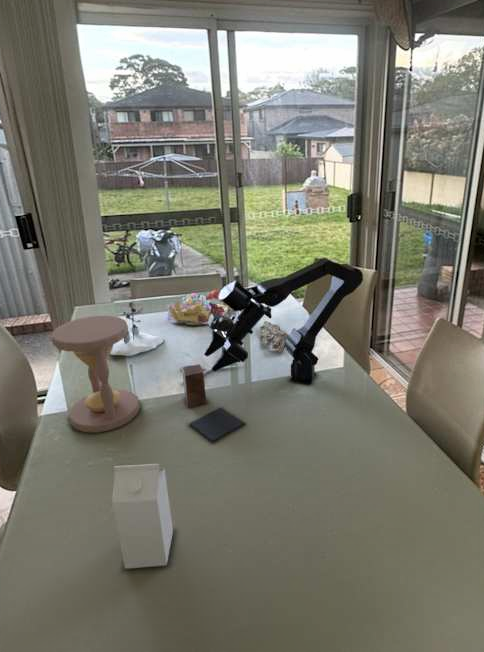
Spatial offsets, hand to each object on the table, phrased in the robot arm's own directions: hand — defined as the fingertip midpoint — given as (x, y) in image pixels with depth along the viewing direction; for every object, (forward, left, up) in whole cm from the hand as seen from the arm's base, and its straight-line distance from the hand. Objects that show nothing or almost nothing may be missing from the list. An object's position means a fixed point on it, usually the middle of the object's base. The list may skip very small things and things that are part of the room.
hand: (209, 362), depth 121 cm
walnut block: (+3, +3, -11) cm, 12 cm away
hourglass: (+24, +16, -11) cm, 31 cm away
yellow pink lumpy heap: (+36, -54, -11) cm, 66 cm away
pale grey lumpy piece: (-2, -42, -11) cm, 43 cm away
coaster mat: (-8, +11, -11) cm, 17 cm away
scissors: (+8, -14, -11) cm, 19 cm away
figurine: (+41, -20, -11) cm, 47 cm away
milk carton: (-13, +48, -11) cm, 51 cm away
